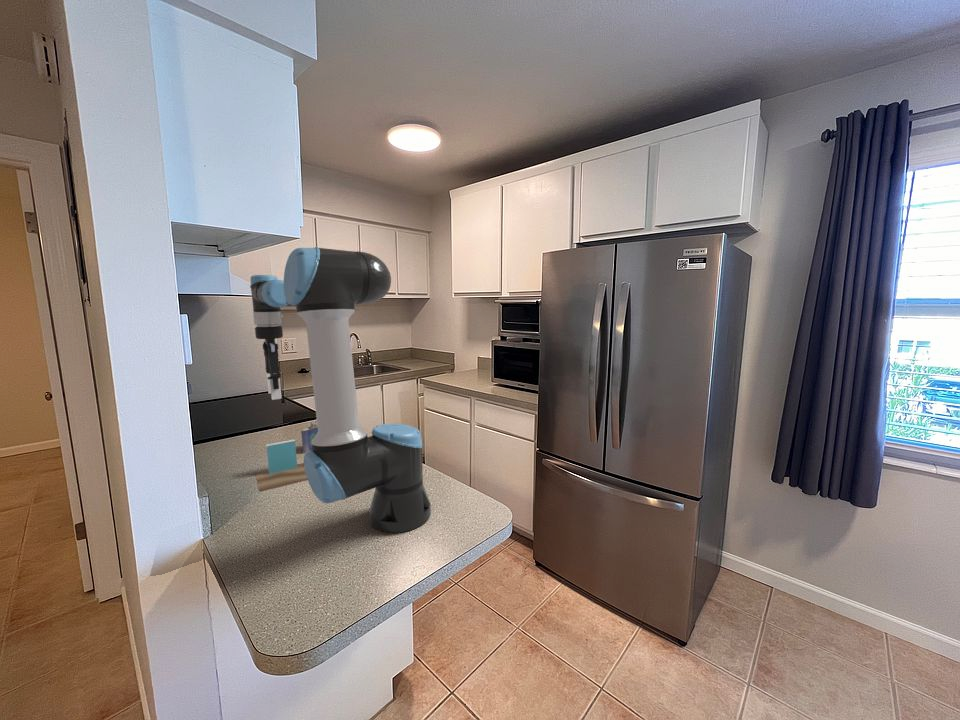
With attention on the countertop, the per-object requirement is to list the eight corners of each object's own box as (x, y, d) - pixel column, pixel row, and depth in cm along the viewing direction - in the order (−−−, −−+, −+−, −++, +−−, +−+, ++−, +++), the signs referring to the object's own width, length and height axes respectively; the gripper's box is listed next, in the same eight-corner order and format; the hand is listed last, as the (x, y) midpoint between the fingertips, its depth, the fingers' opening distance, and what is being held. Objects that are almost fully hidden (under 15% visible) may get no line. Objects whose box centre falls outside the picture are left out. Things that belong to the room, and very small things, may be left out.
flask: (305, 455, 135) (303, 426, 134) (300, 453, 137) (298, 424, 135) (328, 447, 143) (326, 419, 141) (323, 445, 144) (321, 418, 143)
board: (316, 479, 117) (316, 477, 117) (259, 493, 108) (259, 491, 108) (307, 463, 128) (307, 462, 128) (255, 475, 120) (255, 473, 120)
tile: (297, 467, 124) (295, 441, 122) (269, 474, 119) (266, 446, 118) (296, 465, 125) (294, 439, 124) (268, 471, 121) (266, 444, 120)
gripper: (286, 327, 113) (293, 401, 117) (277, 323, 131) (283, 387, 135) (257, 328, 109) (264, 405, 113) (252, 324, 127) (258, 390, 131)
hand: (274, 395), depth 124 cm, fingers open, 9 cm apart
